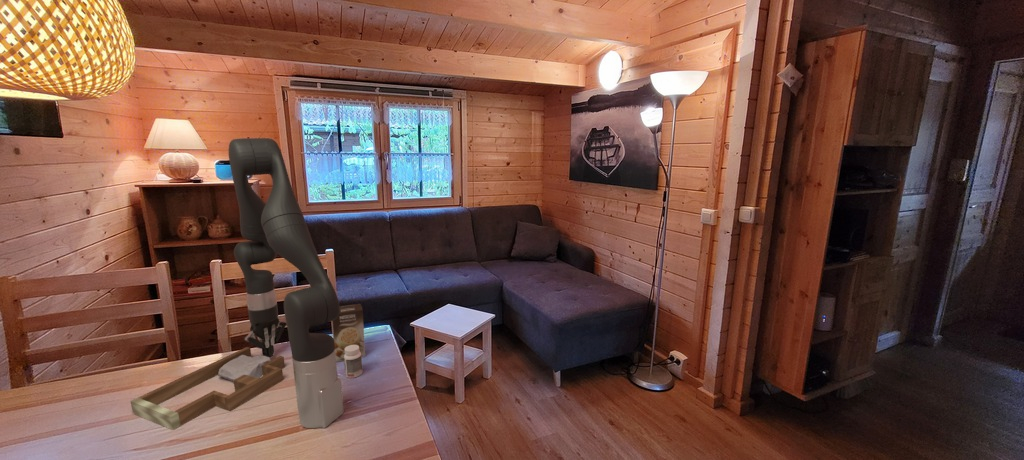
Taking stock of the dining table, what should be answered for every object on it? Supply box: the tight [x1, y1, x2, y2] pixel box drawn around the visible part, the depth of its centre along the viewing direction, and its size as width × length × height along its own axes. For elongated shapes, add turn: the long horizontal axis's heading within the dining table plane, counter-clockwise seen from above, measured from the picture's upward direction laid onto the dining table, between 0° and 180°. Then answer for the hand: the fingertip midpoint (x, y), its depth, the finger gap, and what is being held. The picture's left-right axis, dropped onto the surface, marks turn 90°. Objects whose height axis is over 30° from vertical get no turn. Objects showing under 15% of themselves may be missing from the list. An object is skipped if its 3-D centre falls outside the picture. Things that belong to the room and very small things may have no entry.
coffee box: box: [331, 303, 366, 363], centre depth 125 cm, size 9×6×16 cm
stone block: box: [217, 355, 272, 383], centre depth 115 cm, size 12×5×10 cm
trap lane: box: [130, 346, 286, 431], centre depth 107 cm, size 22×30×4 cm
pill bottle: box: [343, 345, 363, 379], centre depth 115 cm, size 5×5×8 cm
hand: (269, 356), depth 123 cm, fingers closed
